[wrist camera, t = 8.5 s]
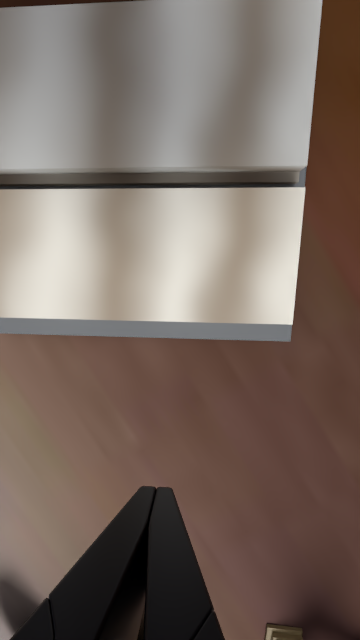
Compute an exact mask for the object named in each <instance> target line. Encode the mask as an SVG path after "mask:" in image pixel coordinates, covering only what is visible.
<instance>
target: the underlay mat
mask: <svg viewBox="0 0 360 640" xmlns="http://www.w3.org/2000/svg"><path fill="white" fill-rule="evenodd" d="M305 176H306V167H305V168H303V169H302V170H301V171H300V173H299V182H298V183H296V184H245V185H112V186H0V189H128V188H275V187H305ZM291 329H292V325H287V324H246V323H205V322H164V321H123V320H82V319H40V318H0V333H10V334H45V335H81V336H116V337H152V338H187V339H223V340H258V341H290V340H291Z"/></svg>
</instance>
